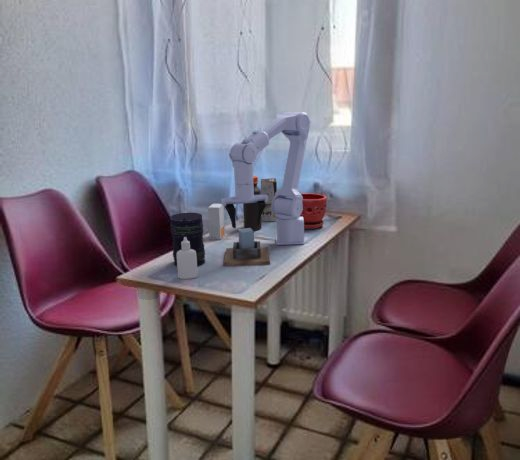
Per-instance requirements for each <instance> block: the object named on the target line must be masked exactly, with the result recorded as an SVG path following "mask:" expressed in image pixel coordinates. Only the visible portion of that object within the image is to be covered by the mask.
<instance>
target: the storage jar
mask: <svg viewBox="0 0 520 460" xmlns="http://www.w3.org/2000/svg"><path fill="white" fill-rule="evenodd" d="M169 218H170V219H169V221H170V230H171V231H170V232H171V233H170V234H171V236H172V257H173V260H174V261H173V264H174V266H175V267H176V268H177V252H178V251H179V250H182V247H181V242H182V241H183V240H184V237H186V238H187V241H190V249H193V250H195V251H196V256H197V268H198V267H201V266H203V265H204V264H206V259H205V258H206V252H205V251H206V249H205V244H204V236H203V235H204V223H203V215H202V214H201V213H197V212H183V213H181V212H180V213H177V214H174V215H173V214H172V215H171V216H170V217H169Z"/></svg>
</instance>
